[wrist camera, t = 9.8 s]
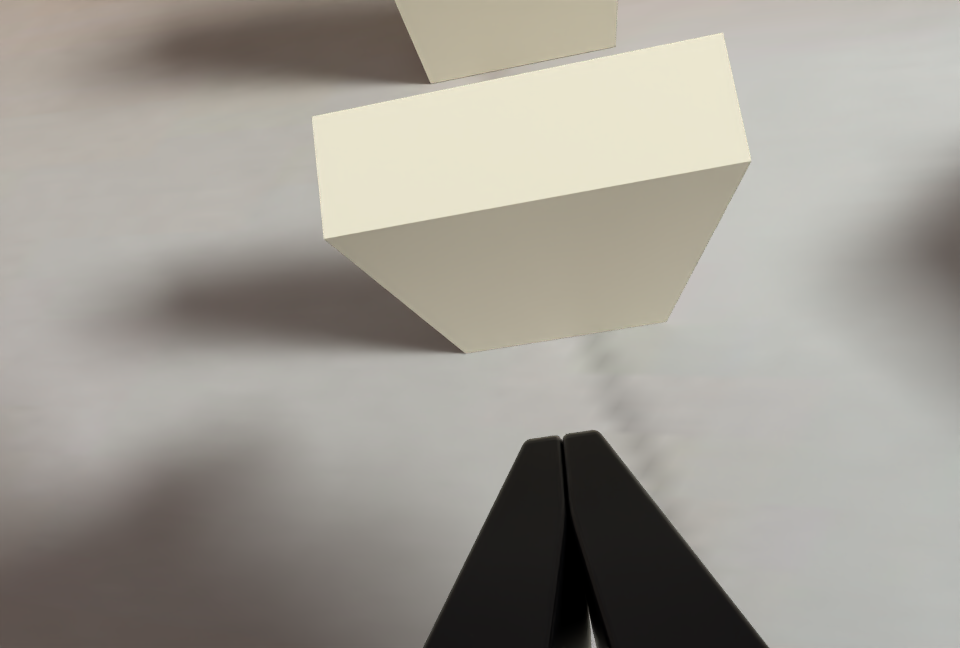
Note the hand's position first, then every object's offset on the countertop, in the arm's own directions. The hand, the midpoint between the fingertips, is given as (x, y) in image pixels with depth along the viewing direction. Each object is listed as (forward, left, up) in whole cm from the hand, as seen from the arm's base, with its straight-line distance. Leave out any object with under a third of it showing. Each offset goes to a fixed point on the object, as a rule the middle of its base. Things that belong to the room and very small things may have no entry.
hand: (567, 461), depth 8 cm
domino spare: (+3, +3, -9) cm, 10 cm away
